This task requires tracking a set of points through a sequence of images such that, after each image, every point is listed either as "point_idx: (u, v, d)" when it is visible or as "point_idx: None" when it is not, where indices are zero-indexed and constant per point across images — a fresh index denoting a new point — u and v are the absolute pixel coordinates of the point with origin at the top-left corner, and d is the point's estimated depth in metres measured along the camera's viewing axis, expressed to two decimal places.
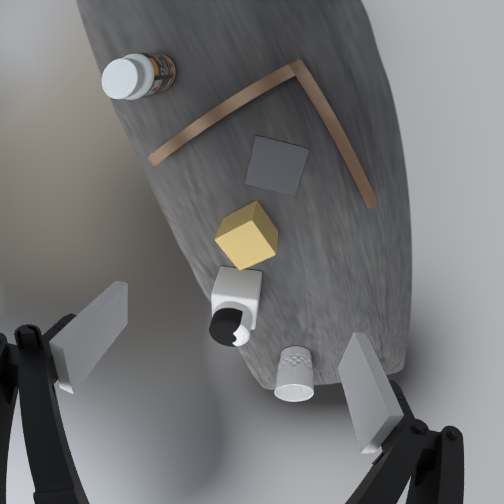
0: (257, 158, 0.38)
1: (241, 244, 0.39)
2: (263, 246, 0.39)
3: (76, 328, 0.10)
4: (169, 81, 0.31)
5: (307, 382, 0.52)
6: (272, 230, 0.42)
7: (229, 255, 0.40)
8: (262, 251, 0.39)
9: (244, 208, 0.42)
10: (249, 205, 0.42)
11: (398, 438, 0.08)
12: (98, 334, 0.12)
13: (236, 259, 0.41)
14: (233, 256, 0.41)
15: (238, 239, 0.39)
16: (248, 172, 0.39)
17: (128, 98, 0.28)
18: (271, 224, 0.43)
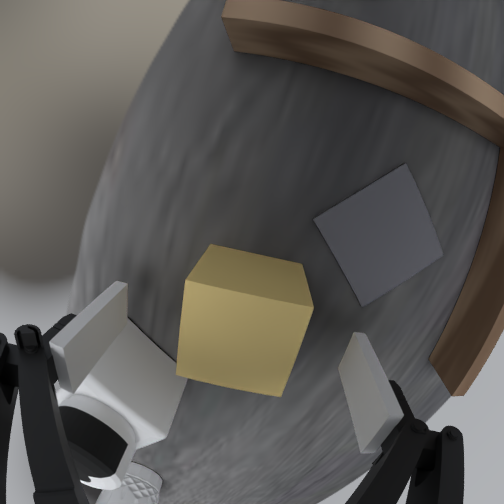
0: (375, 198, 0.17)
1: (234, 337, 0.14)
2: (275, 370, 0.14)
3: (76, 328, 0.10)
4: None
5: None
6: None
7: (184, 336, 0.14)
8: (263, 377, 0.15)
9: (272, 260, 0.18)
10: (284, 263, 0.18)
11: (398, 438, 0.08)
12: (98, 334, 0.12)
13: (191, 353, 0.14)
14: (190, 344, 0.14)
15: (240, 324, 0.14)
16: (339, 207, 0.17)
17: None
18: None
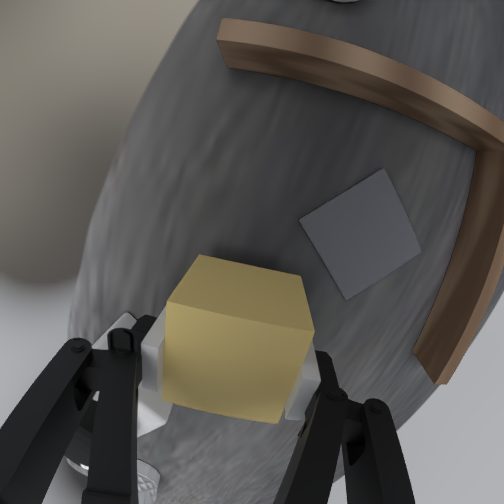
0: (355, 200, 0.19)
1: (224, 364, 0.12)
2: (271, 398, 0.13)
3: (163, 328, 0.12)
4: None
5: None
6: None
7: (169, 361, 0.12)
8: (257, 405, 0.13)
9: (267, 273, 0.16)
10: (280, 276, 0.16)
11: (316, 408, 0.10)
12: None
13: (177, 380, 0.12)
14: (175, 370, 0.12)
15: (230, 350, 0.12)
16: (322, 208, 0.19)
17: None
18: None
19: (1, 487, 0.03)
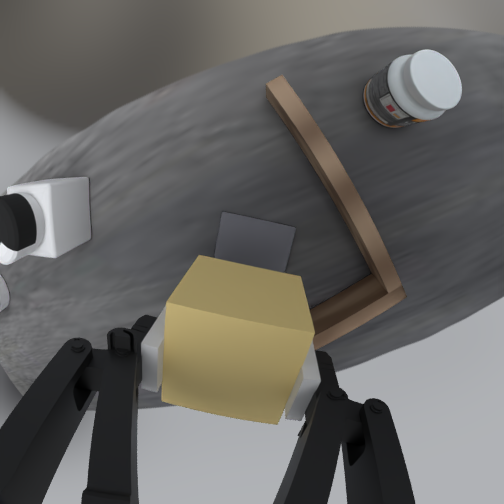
0: (262, 229, 0.28)
1: (223, 365, 0.12)
2: (271, 399, 0.12)
3: (163, 328, 0.12)
4: (382, 120, 0.23)
5: None
6: None
7: (168, 362, 0.12)
8: (257, 406, 0.13)
9: (267, 274, 0.16)
10: (281, 277, 0.16)
11: (316, 408, 0.10)
12: None
13: (177, 380, 0.12)
14: (175, 371, 0.12)
15: (230, 351, 0.12)
16: (240, 217, 0.28)
17: (393, 73, 0.17)
18: None
19: (1, 487, 0.03)
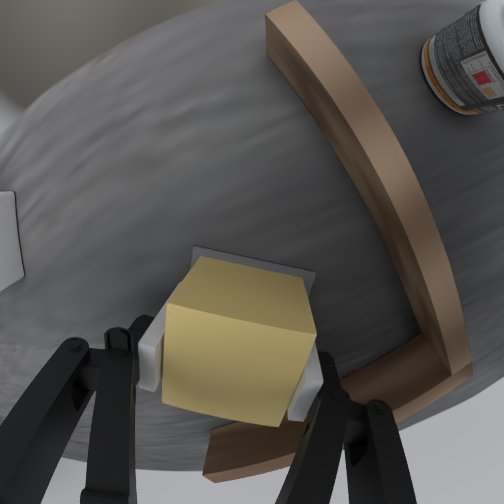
0: None
1: (225, 366, 0.12)
2: (272, 401, 0.12)
3: (160, 328, 0.12)
4: (455, 100, 0.12)
5: None
6: None
7: (169, 364, 0.12)
8: (258, 408, 0.12)
9: (269, 275, 0.16)
10: (282, 278, 0.16)
11: (319, 409, 0.10)
12: None
13: (178, 382, 0.12)
14: (175, 372, 0.12)
15: (231, 353, 0.12)
16: (223, 255, 0.17)
17: (491, 18, 0.05)
18: None
19: (0, 487, 0.03)
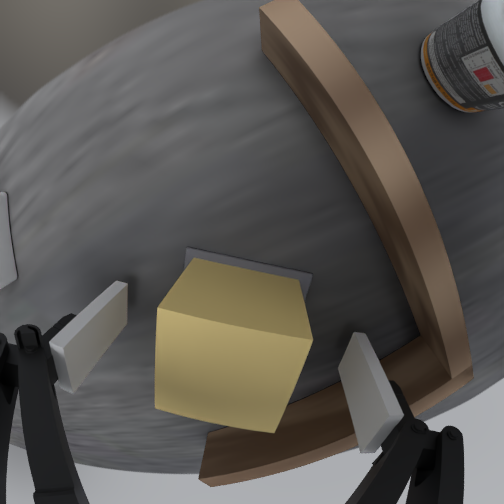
0: None
1: (218, 373, 0.11)
2: (267, 407, 0.12)
3: (76, 328, 0.10)
4: (456, 97, 0.11)
5: None
6: None
7: (161, 369, 0.12)
8: (253, 414, 0.12)
9: (264, 277, 0.16)
10: (278, 280, 0.16)
11: (398, 438, 0.08)
12: (98, 334, 0.12)
13: (170, 388, 0.12)
14: (168, 378, 0.12)
15: (224, 359, 0.11)
16: (217, 257, 0.16)
17: (493, 13, 0.05)
18: None
19: None
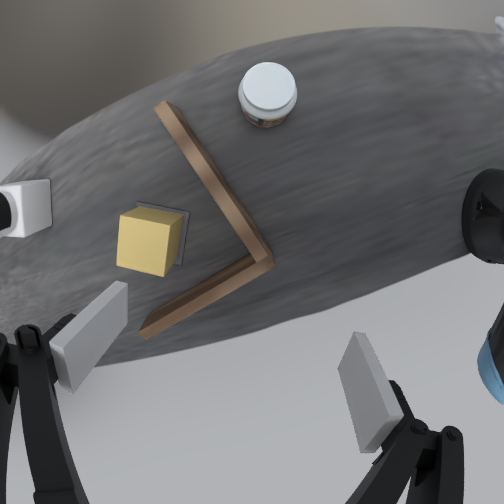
0: None
1: (139, 241, 0.31)
2: (158, 259, 0.31)
3: (76, 328, 0.10)
4: (253, 123, 0.31)
5: None
6: (174, 253, 0.35)
7: (120, 242, 0.31)
8: (153, 264, 0.32)
9: (167, 212, 0.35)
10: (172, 214, 0.35)
11: (398, 438, 0.08)
12: (98, 334, 0.12)
13: (123, 251, 0.31)
14: (122, 246, 0.31)
15: (141, 234, 0.31)
16: (149, 205, 0.36)
17: (240, 87, 0.25)
18: (177, 247, 0.36)
19: None
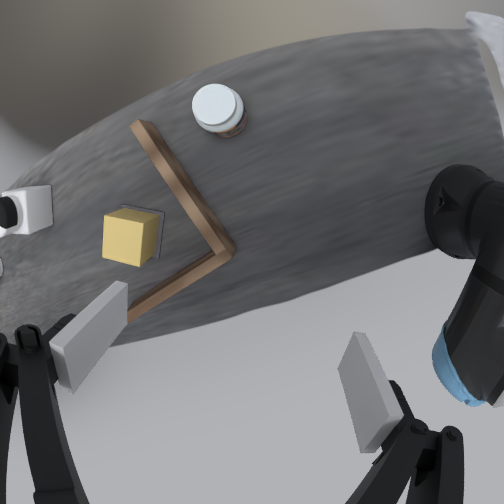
0: None
1: (120, 237, 0.36)
2: (135, 252, 0.37)
3: (76, 328, 0.10)
4: (214, 134, 0.36)
5: None
6: (151, 247, 0.41)
7: (104, 238, 0.36)
8: (131, 255, 0.37)
9: (145, 213, 0.41)
10: (150, 214, 0.41)
11: (398, 438, 0.08)
12: (98, 334, 0.12)
13: (107, 245, 0.37)
14: (106, 241, 0.37)
15: (121, 231, 0.36)
16: (131, 207, 0.41)
17: None
18: (154, 243, 0.42)
19: None
